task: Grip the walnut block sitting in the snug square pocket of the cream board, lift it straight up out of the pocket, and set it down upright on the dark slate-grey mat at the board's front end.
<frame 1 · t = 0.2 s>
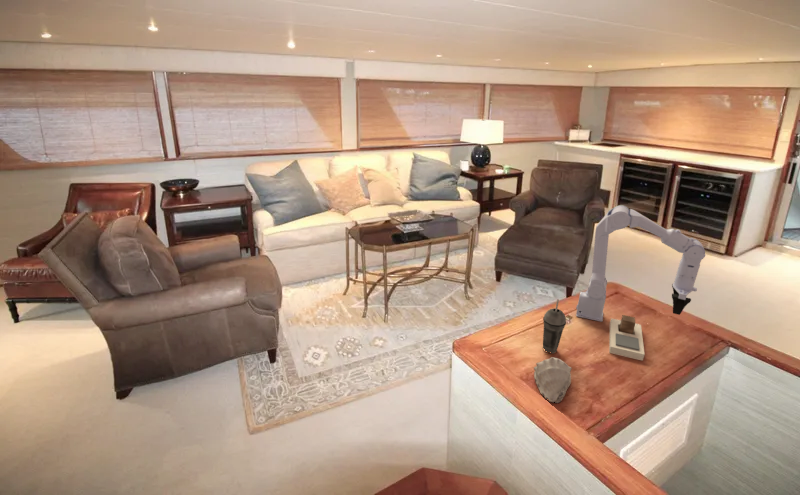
hand: (676, 308, 149), 10 cm above the table, tool pointing down, fingers open, 7 cm apart
walnut block: (624, 335, 151), resting in pocket board
slate mat: (626, 342, 142), resting on pocket board
pocket board: (625, 341, 148), on the table
beverage cup: (549, 350, 143), on the table
seashell: (555, 388, 125), on the table
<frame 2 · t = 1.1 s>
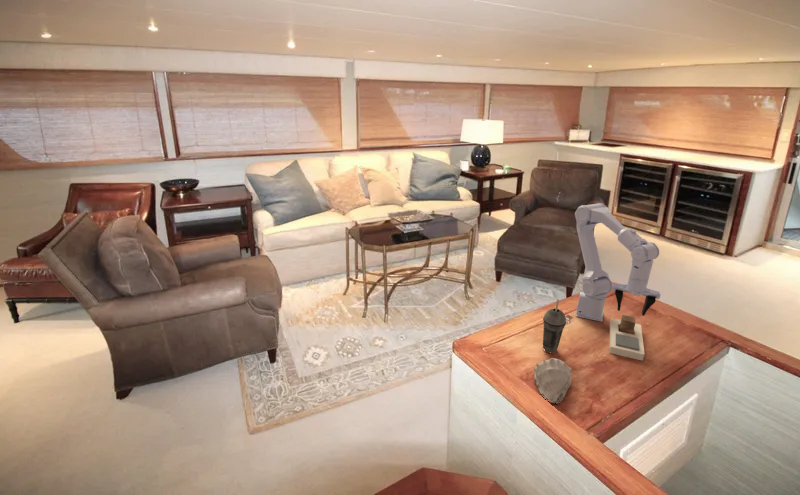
hand: (630, 311, 147), 10 cm above the table, tool pointing down, fingers open, 7 cm apart
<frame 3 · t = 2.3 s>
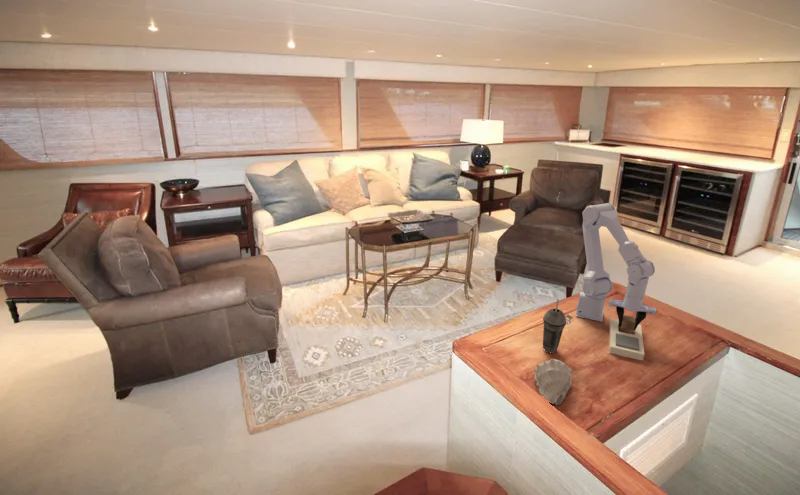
hand: (626, 327, 150), 3 cm above the table, tool pointing down, fingers closed on walnut block, 4 cm apart
walnut block: (624, 335, 151), resting in pocket board, touching gripper
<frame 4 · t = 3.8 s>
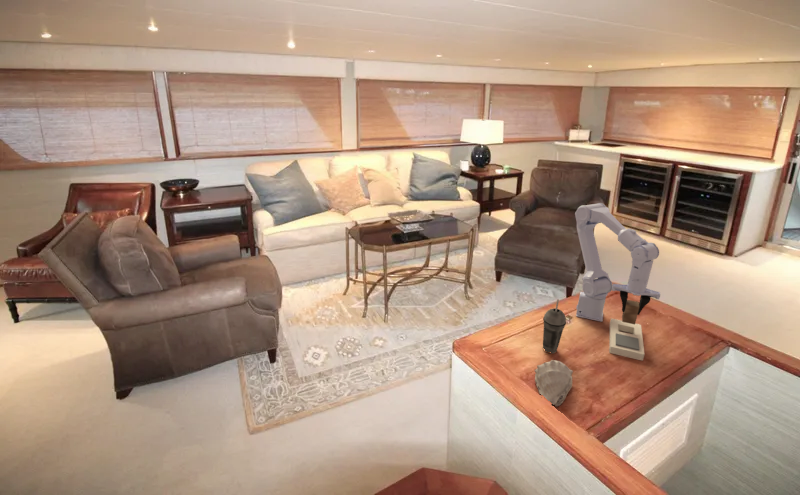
hand: (630, 312, 147), 10 cm above the table, tool pointing down, fingers closed on walnut block, 4 cm apart
walnut block: (628, 320, 149), point 6 cm above the table, touching gripper
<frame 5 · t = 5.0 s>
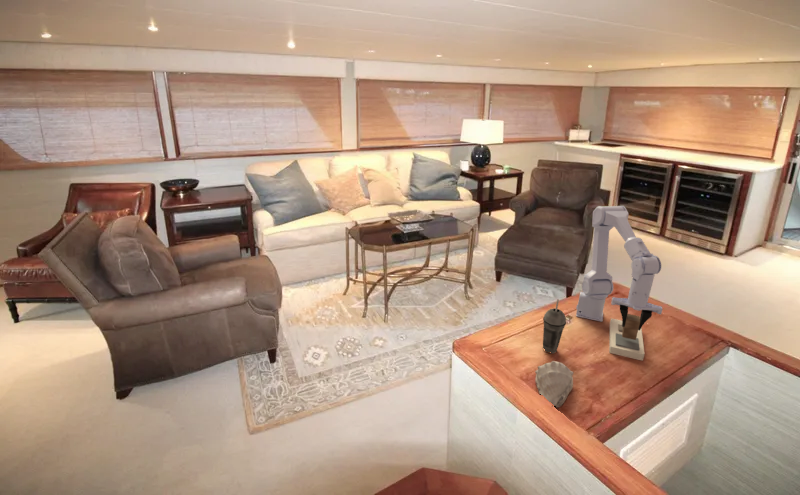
hand: (630, 327, 140), 9 cm above the table, tool pointing down, fingers closed on walnut block, 4 cm apart
walnut block: (628, 335, 142), point 5 cm above the table, touching gripper
when the fingers open (7 cm above the table, at t = 5.6 s): walnut block stays where it is, resting on slate mat.
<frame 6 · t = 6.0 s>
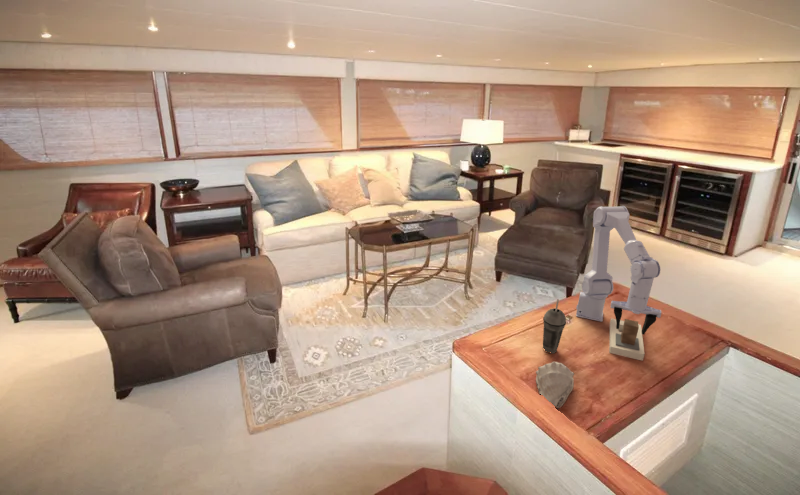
hand: (630, 330, 141), 7 cm above the table, tool pointing down, fingers open, 7 cm apart
walnut block: (627, 340, 142), point 3 cm above the table, touching slate mat
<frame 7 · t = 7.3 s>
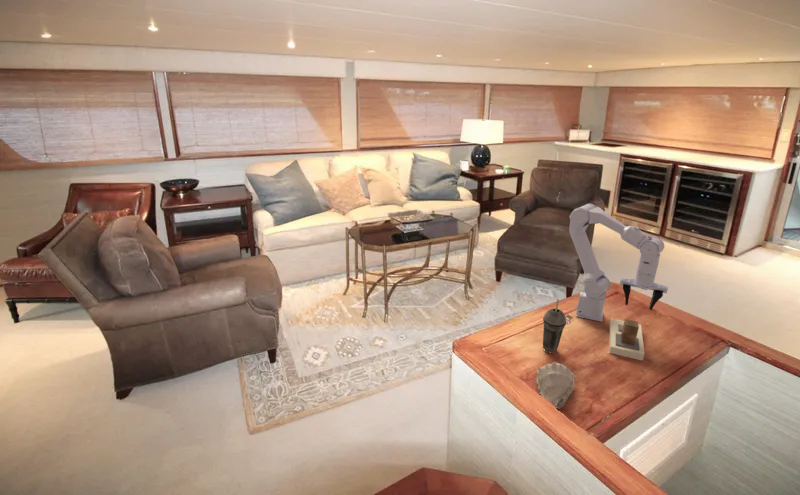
hand: (638, 306, 150), 10 cm above the table, tool pointing down, fingers open, 7 cm apart
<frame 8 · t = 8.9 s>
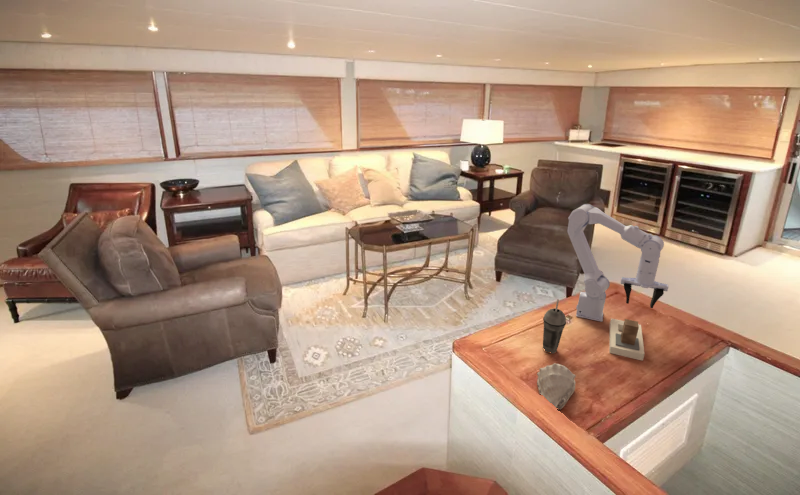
hand: (639, 304, 151), 10 cm above the table, tool pointing down, fingers open, 7 cm apart
at the end: walnut block 0.2 cm from the slate mat (horizontally); walnut block point 3.1 cm above the table; walnut block tilted 0° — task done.
